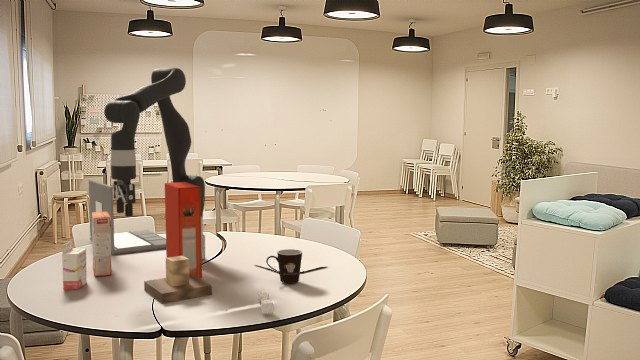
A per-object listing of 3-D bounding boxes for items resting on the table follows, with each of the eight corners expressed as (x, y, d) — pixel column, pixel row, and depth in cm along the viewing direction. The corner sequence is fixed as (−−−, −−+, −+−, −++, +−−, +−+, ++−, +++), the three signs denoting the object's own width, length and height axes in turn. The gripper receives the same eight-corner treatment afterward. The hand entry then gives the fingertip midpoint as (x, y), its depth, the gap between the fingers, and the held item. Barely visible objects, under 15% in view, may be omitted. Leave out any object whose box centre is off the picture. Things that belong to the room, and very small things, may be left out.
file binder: (178, 281, 188) (177, 187, 185) (165, 269, 203) (164, 182, 200) (202, 278, 192) (201, 186, 189) (187, 267, 207) (186, 181, 204)
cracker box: (112, 275, 195) (111, 216, 193) (94, 277, 192) (92, 217, 190) (109, 266, 207) (108, 210, 205) (92, 267, 205) (90, 211, 203)
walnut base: (191, 282, 187) (191, 273, 187) (211, 294, 174) (211, 285, 174) (144, 290, 178) (144, 281, 177) (162, 303, 165) (161, 293, 165)
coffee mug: (305, 278, 193) (306, 250, 192) (296, 285, 185) (296, 255, 184) (275, 275, 197) (275, 247, 196) (265, 281, 189) (265, 252, 188)
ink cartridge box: (78, 289, 177) (77, 244, 176) (62, 290, 177) (61, 244, 176) (87, 282, 186) (86, 239, 185) (72, 282, 186) (70, 239, 184)
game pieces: (273, 313, 158) (273, 302, 158) (261, 314, 157) (261, 303, 157) (268, 300, 170) (268, 290, 169) (257, 301, 169) (257, 290, 169)
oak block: (182, 279, 179) (182, 255, 179) (189, 283, 175) (189, 259, 174) (166, 282, 176) (165, 257, 175) (172, 286, 172) (172, 261, 171)
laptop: (175, 248, 238) (174, 183, 236) (111, 256, 223) (109, 186, 220) (147, 235, 266) (146, 176, 264) (89, 241, 251) (87, 179, 248)
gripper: (142, 165, 173) (143, 216, 174) (128, 162, 184) (129, 210, 186) (118, 166, 168) (119, 218, 170) (104, 163, 179) (105, 212, 181)
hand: (124, 214), depth 178 cm, fingers open, 8 cm apart
